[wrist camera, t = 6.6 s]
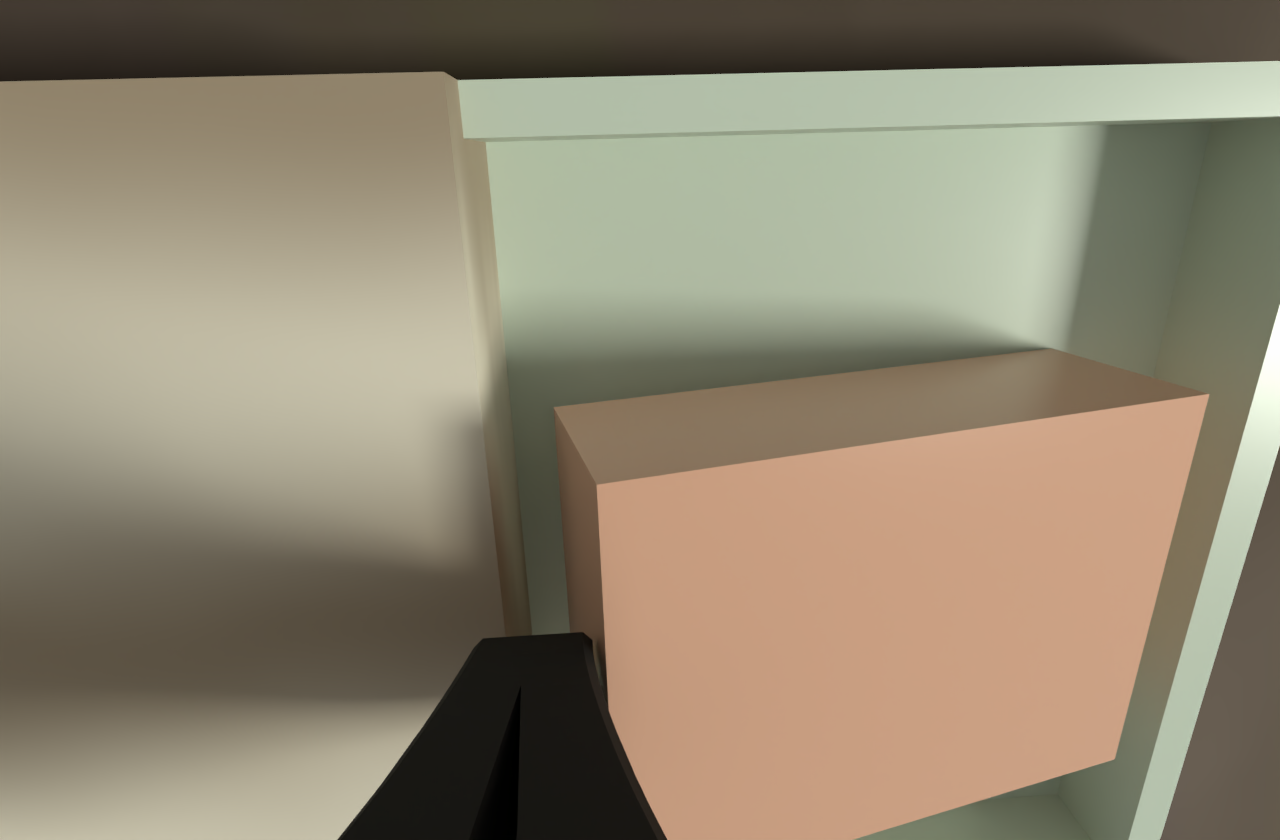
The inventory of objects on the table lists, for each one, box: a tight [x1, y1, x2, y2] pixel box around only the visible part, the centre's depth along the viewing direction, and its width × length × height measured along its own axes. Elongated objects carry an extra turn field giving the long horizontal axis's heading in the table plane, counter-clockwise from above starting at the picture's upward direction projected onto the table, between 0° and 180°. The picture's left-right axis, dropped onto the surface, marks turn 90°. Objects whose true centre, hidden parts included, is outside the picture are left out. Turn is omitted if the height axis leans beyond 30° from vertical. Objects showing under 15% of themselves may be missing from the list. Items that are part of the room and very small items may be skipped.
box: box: [458, 61, 1280, 840], centre depth 12 cm, size 14×11×2 cm
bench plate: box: [0, 72, 532, 840], centre depth 11 cm, size 14×9×3 cm, turn 1°
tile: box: [553, 348, 1209, 840], centre depth 10 cm, size 6×8×2 cm
